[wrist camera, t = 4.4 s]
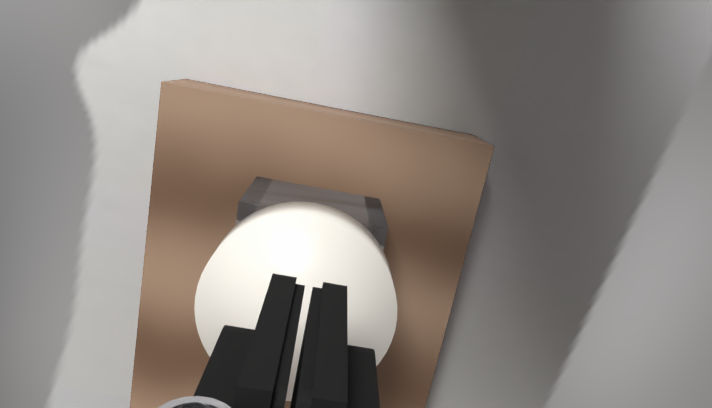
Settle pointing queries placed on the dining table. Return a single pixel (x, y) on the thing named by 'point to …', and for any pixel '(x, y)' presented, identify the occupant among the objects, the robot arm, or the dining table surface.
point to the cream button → (298, 274)
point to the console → (301, 184)
